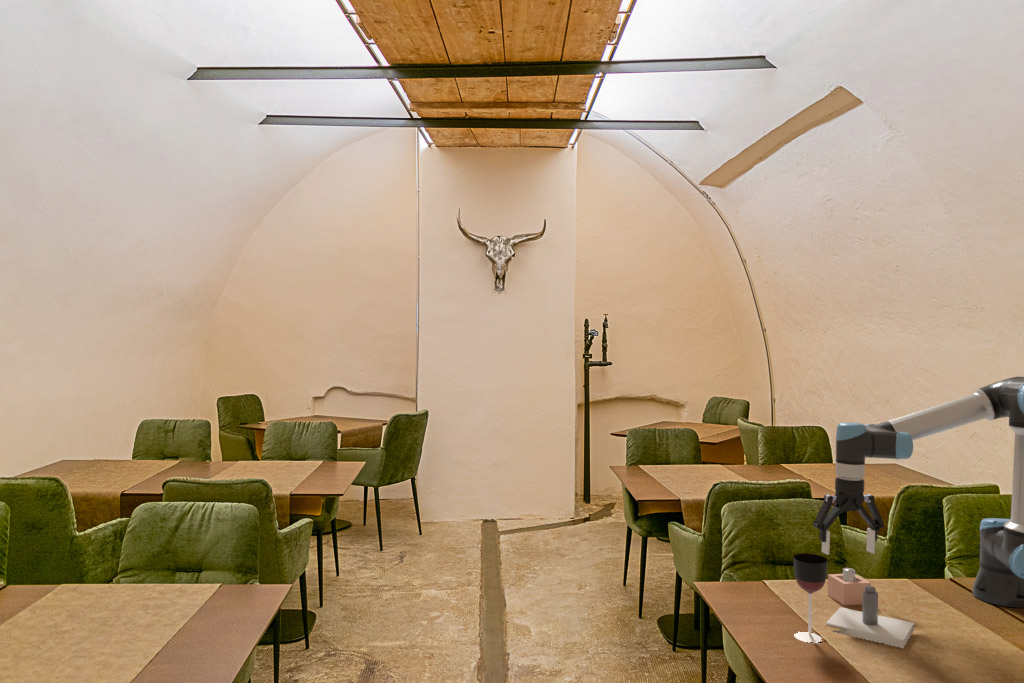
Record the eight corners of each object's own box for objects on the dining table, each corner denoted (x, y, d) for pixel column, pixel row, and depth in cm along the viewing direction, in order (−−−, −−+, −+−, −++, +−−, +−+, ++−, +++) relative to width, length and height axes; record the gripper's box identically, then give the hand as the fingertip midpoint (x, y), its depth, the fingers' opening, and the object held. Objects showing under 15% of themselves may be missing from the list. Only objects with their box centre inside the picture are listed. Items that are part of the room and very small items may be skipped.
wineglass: (825, 632, 192) (826, 555, 191) (828, 646, 184) (828, 565, 183) (792, 628, 194) (793, 552, 194) (793, 641, 186) (794, 561, 186)
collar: (853, 594, 216) (854, 573, 216) (870, 604, 208) (870, 582, 208) (827, 595, 215) (828, 574, 215) (843, 605, 207) (843, 583, 207)
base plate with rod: (914, 630, 193) (914, 587, 193) (903, 648, 182) (903, 602, 182) (840, 614, 204) (840, 573, 204) (825, 630, 193) (826, 587, 193)
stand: (864, 604, 212) (864, 569, 212) (858, 611, 207) (858, 575, 207) (839, 599, 216) (839, 564, 216) (833, 605, 211) (833, 570, 211)
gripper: (882, 474, 216) (880, 547, 217) (801, 475, 213) (799, 549, 213) (899, 480, 209) (897, 555, 209) (815, 480, 206) (813, 557, 206)
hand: (848, 552), depth 211 cm, fingers open, 13 cm apart
